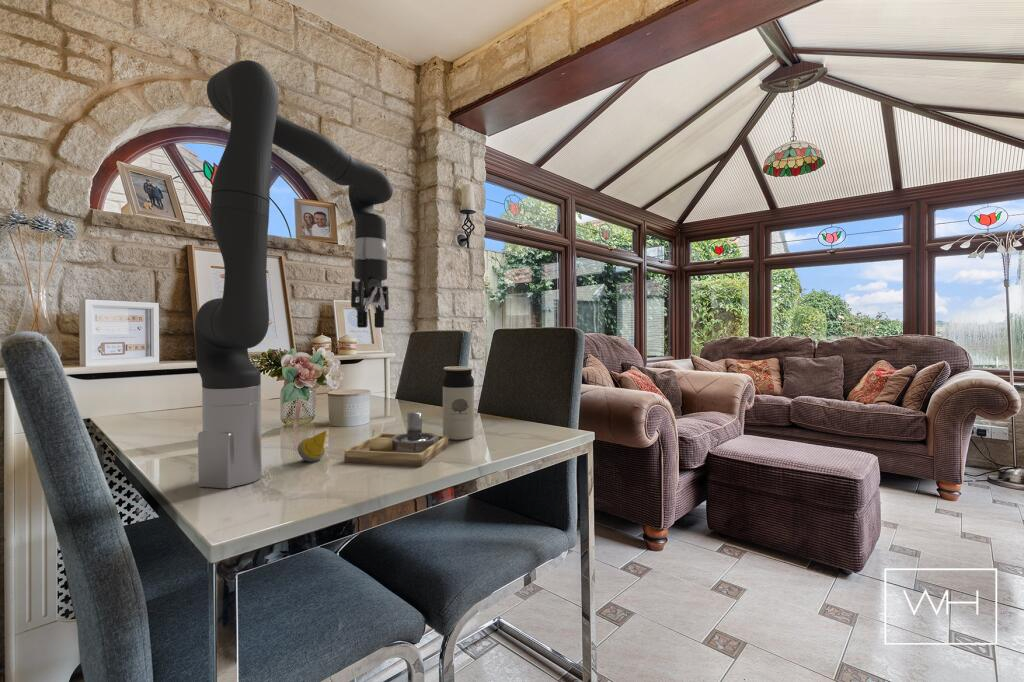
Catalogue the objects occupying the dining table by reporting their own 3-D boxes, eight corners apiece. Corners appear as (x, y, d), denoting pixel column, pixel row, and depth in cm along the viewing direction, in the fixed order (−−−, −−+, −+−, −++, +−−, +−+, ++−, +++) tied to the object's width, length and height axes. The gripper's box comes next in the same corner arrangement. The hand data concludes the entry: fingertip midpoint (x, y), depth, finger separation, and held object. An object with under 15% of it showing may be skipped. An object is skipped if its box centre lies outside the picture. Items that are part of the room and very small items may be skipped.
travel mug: (445, 433, 127) (445, 366, 127) (475, 433, 127) (475, 366, 127) (440, 440, 119) (440, 368, 119) (471, 440, 119) (471, 368, 119)
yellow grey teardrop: (320, 457, 105) (342, 430, 101) (309, 474, 100) (331, 446, 96) (299, 444, 104) (320, 415, 100) (286, 460, 99) (308, 431, 95)
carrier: (422, 466, 97) (422, 448, 97) (344, 462, 100) (344, 444, 100) (448, 446, 113) (448, 431, 113) (381, 443, 116) (381, 428, 116)
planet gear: (421, 450, 105) (421, 415, 105) (397, 448, 106) (396, 414, 106) (431, 443, 111) (431, 410, 111) (407, 442, 112) (407, 410, 112)
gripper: (370, 263, 121) (370, 327, 122) (340, 255, 107) (340, 327, 108) (398, 263, 120) (398, 327, 120) (371, 254, 106) (371, 327, 106)
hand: (371, 327), depth 114 cm, fingers open, 8 cm apart
